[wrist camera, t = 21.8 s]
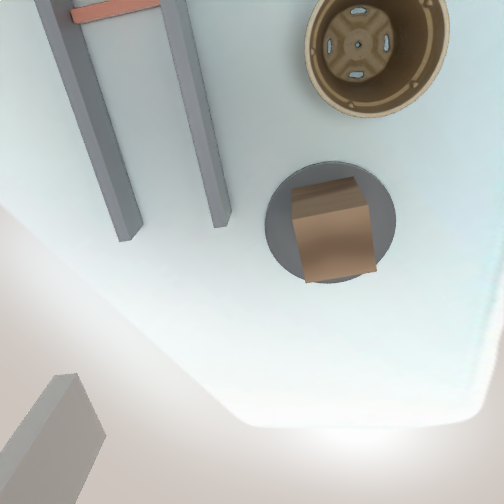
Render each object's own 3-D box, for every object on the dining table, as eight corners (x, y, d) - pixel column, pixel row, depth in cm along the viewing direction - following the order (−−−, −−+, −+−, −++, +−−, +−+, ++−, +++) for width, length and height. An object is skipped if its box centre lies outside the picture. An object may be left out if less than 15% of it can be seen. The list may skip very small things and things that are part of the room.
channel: (44, -41, 34) (8, -54, 30) (169, -73, 33) (150, -92, 28) (132, 226, 44) (115, 246, 40) (231, 211, 43) (225, 230, 38)
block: (291, 189, 41) (292, 219, 33) (353, 176, 40) (368, 204, 32) (302, 244, 43) (305, 283, 36) (361, 233, 42) (376, 271, 35)
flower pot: (326, 122, 38) (337, 141, 31) (282, 18, 35) (281, 10, 27) (428, 71, 36) (467, 77, 28) (391, -46, 33) (423, -75, 25)
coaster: (254, 173, 41) (254, 175, 40) (391, 151, 39) (393, 153, 38) (276, 286, 46) (275, 290, 46) (396, 271, 45) (398, 275, 44)
